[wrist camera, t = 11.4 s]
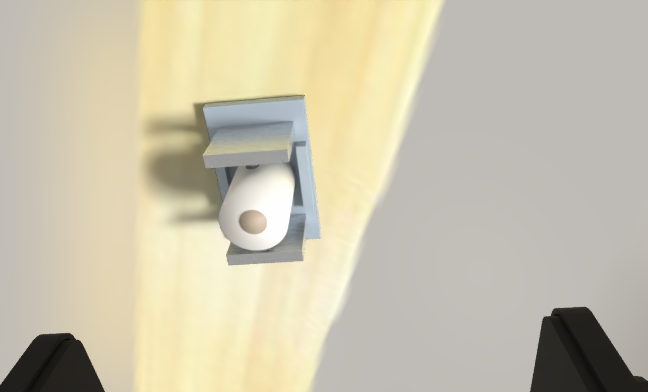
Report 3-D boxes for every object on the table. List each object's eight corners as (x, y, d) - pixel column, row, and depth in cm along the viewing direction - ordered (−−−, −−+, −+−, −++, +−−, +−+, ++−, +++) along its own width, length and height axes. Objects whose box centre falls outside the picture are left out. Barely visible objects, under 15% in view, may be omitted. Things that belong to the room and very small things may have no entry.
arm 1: (219, 127, 39) (202, 155, 34) (293, 121, 38) (287, 149, 33) (223, 147, 39) (207, 178, 35) (296, 142, 39) (290, 172, 34)
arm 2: (237, 210, 42) (224, 246, 38) (305, 205, 42) (300, 241, 37) (240, 227, 43) (228, 265, 38) (307, 223, 43) (303, 260, 38)
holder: (205, 103, 39) (199, 112, 37) (304, 95, 38) (303, 103, 36) (235, 237, 45) (231, 250, 43) (320, 232, 44) (320, 244, 43)
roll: (231, 152, 40) (211, 194, 33) (291, 147, 39) (283, 189, 33) (242, 205, 42) (225, 253, 36) (299, 200, 42) (292, 248, 36)
